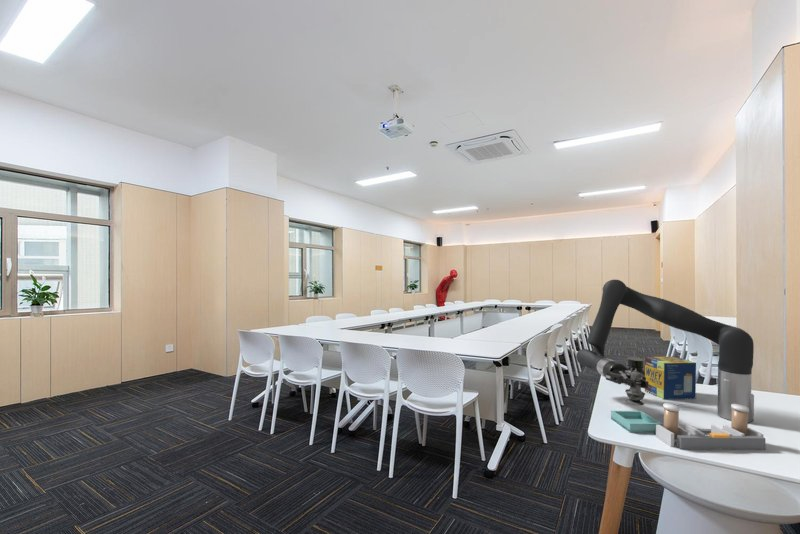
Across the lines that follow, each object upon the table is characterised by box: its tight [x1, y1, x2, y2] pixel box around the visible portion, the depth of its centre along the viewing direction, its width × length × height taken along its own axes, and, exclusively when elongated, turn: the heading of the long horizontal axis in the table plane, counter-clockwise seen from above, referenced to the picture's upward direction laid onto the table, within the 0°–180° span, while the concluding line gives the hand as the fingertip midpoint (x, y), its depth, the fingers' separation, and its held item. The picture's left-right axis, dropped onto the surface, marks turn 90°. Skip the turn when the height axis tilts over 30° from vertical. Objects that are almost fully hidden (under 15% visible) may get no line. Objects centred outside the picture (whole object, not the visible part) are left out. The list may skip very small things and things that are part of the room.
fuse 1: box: [662, 402, 681, 444], centre depth 118 cm, size 4×4×11 cm
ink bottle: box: [626, 356, 645, 388], centre depth 174 cm, size 10×9×12 cm
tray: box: [610, 410, 664, 434], centre depth 128 cm, size 11×11×3 cm
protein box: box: [644, 356, 697, 400], centre depth 160 cm, size 10×15×16 cm
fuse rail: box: [654, 424, 766, 451], centre depth 118 cm, size 29×12×4 cm, turn 90°
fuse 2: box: [730, 404, 749, 436], centre depth 118 cm, size 4×4×11 cm
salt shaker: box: [625, 369, 646, 406], centre depth 128 cm, size 6×6×12 cm
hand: (640, 385), depth 125 cm, fingers closed on salt shaker, 3 cm apart
